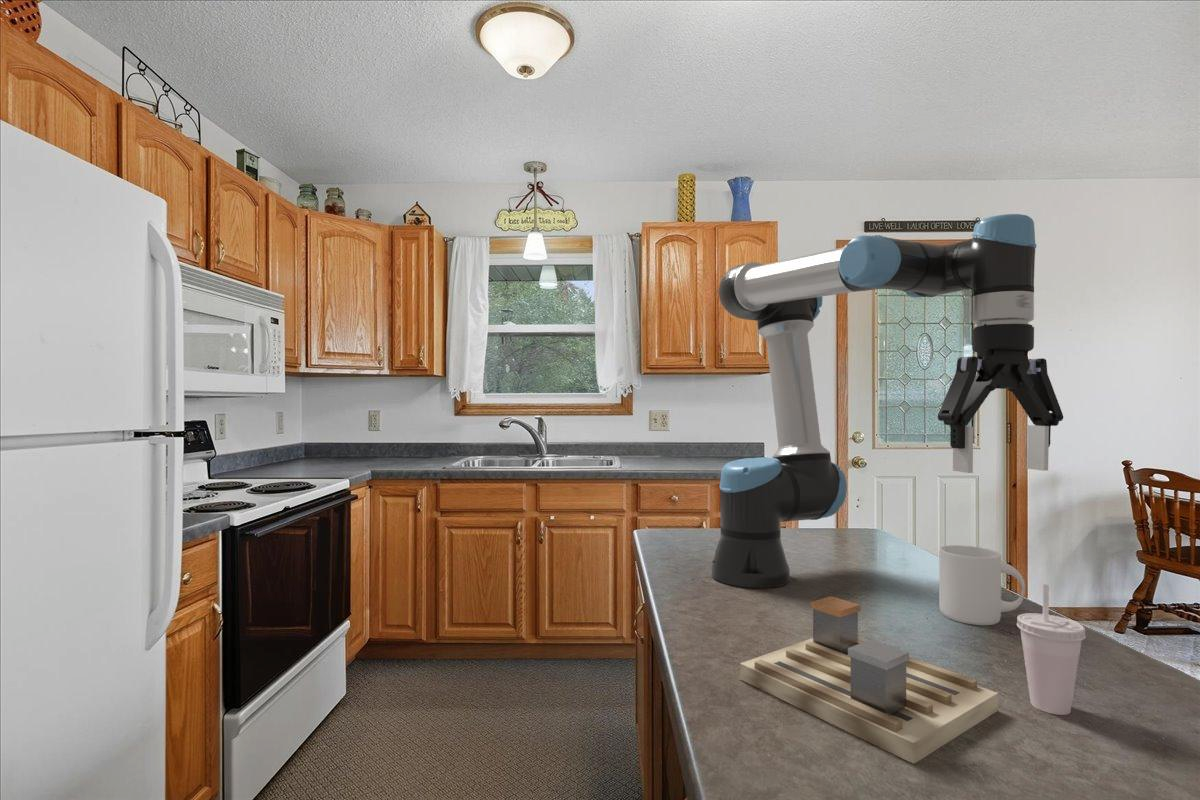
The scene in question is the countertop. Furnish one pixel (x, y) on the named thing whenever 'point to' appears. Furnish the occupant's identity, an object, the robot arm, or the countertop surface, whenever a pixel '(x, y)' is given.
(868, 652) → the fader
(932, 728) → the beige flat board
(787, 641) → the countertop surface
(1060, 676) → the smoothie
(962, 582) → the mug
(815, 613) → the block
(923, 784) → the countertop surface
